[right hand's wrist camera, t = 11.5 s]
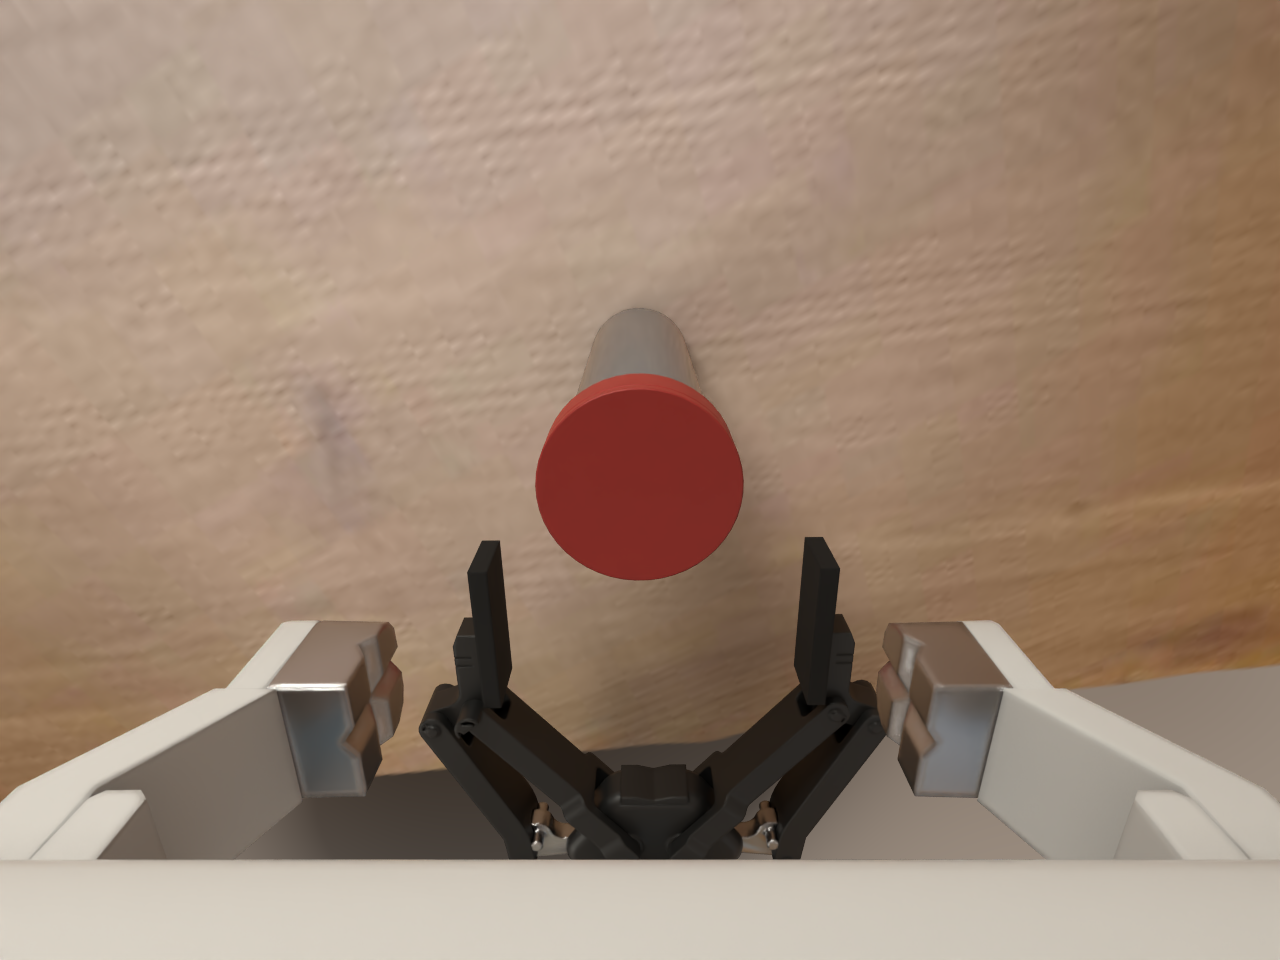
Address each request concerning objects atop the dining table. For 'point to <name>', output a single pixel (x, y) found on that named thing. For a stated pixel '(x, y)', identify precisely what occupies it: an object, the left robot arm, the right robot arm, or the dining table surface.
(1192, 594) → the dining table surface
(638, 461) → the lid
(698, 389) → the jar
